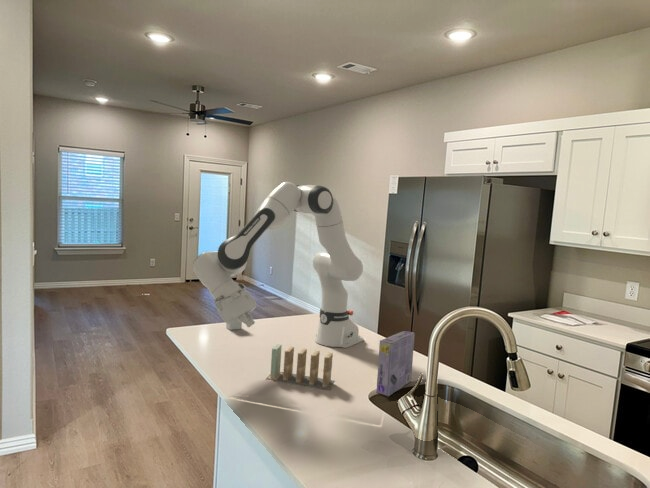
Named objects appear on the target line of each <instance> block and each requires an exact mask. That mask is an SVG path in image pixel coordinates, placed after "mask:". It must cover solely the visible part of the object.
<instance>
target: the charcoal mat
mask: <svg viewBox="0 0 650 488" xmlns="http://www.w3.org/2000/svg"><path fill="white" fill-rule="evenodd" d="M283 373H284V371H280V373H279V375H278V376H277V377H276V378H270V375H271V373H270V374H268V375H267V377H266V378H265V380H266V381H267V380H268V381H272V382H279V383H285V384H290V385H297V386H300V387H301V386H303V387H308V388H313V389H317V390H318V389H319V390H325V391H331V389H332V387H333V386H334V383H335V382H336V381H335V380H333V379H331V382H330V384H329V386H328V387H327V388H325V387H322V385H323V378H321V377H318V380H317V381H316V383H315V385H314V386H313V385H309V379H310V375H305V378H304V379H303V381H302V382H301V383H296V374H297V373H292V376H291V378H290V379H289V380H288V381H284V380H283Z"/></svg>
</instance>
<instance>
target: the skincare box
mask: <svg viewBox="0 0 650 488" xmlns="http://www.w3.org/2000/svg"><path fill="white" fill-rule="evenodd" d="M242 327H243V322H241V321H240V320H239V319H236V320H235V321H233V322H231V323H229V324H227V323H226V329H228V330H229V331H231V330H232V331H233V330H241V329H242Z"/></svg>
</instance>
